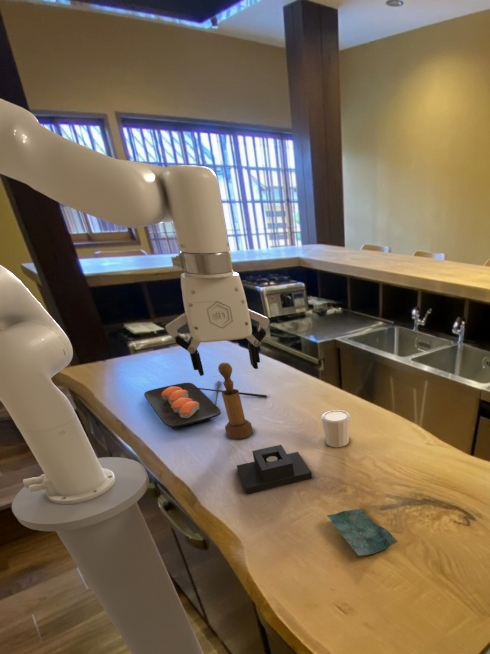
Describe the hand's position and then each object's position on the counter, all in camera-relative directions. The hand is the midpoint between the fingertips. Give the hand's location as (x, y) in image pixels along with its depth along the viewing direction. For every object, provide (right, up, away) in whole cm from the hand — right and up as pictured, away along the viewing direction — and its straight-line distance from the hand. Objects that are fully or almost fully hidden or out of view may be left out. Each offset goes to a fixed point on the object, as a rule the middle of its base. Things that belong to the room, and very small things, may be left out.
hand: (228, 369), depth 79 cm
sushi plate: (-22, +6, +46) cm, 51 cm away
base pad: (+5, -18, +15) cm, 24 cm away
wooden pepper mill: (-8, -6, +30) cm, 32 cm away
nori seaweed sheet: (+25, -31, -1) cm, 40 cm away
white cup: (+17, -9, +27) cm, 33 cm away
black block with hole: (+5, -17, +14) cm, 23 cm away
